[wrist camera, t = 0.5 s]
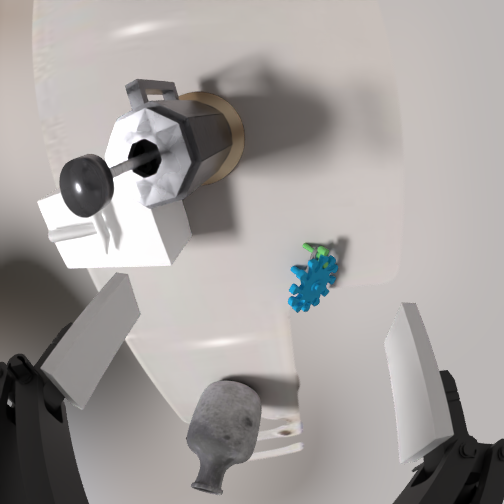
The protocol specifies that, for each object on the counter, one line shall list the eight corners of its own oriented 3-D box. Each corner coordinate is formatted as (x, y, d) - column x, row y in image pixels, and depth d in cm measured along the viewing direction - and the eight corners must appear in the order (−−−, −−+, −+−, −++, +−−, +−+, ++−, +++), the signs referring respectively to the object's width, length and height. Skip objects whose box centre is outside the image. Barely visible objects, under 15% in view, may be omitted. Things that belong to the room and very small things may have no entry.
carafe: (147, 99, 34) (84, 105, 22) (213, 72, 31) (165, 57, 19) (175, 183, 40) (124, 219, 28) (241, 164, 37) (209, 195, 25)
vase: (261, 407, 69) (240, 501, 43) (206, 394, 71) (175, 485, 45) (270, 378, 61) (247, 495, 35) (205, 364, 62) (164, 473, 37)
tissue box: (192, 234, 45) (164, 275, 36) (92, 244, 51) (61, 275, 42) (168, 151, 38) (127, 174, 29) (66, 182, 44) (28, 207, 35)
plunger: (127, 131, 27) (36, 160, 15) (183, 106, 25) (96, 116, 13) (148, 191, 31) (71, 246, 19) (205, 173, 28) (137, 226, 17)
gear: (327, 307, 45) (285, 321, 39) (303, 289, 49) (261, 299, 43) (351, 249, 41) (310, 254, 35) (323, 233, 45) (280, 234, 39)
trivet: (143, 112, 36) (141, 112, 35) (228, 78, 32) (227, 78, 31) (171, 194, 42) (170, 195, 41) (256, 171, 38) (255, 172, 37)
